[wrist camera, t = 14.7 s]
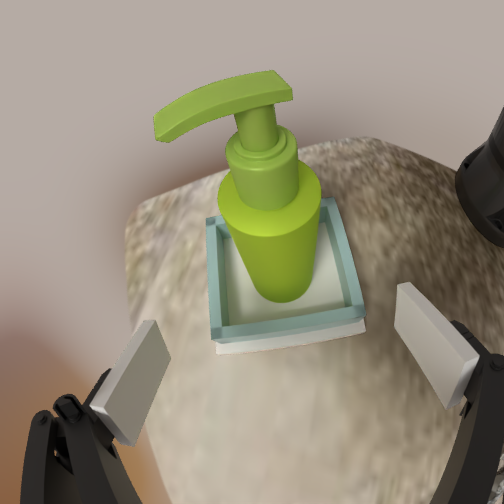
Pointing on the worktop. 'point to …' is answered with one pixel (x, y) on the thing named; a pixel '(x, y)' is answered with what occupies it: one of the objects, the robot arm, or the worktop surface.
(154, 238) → the worktop surface
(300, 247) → the soap dispenser
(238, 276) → the cradle
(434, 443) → the worktop surface
